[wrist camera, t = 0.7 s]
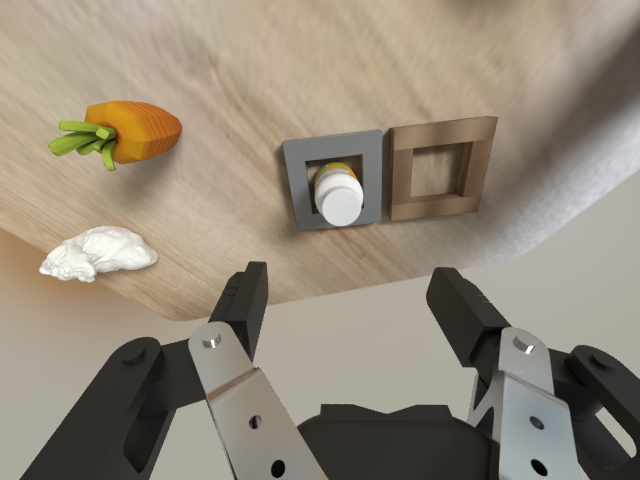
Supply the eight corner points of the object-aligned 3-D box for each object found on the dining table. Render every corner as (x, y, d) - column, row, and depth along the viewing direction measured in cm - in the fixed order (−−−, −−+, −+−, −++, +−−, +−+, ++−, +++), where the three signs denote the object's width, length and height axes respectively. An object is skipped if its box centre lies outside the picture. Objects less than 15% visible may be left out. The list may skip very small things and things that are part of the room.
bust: (173, 235, 39) (122, 219, 28) (164, 283, 38) (108, 286, 27) (92, 228, 38) (7, 208, 27) (81, 277, 37) (-12, 277, 26)
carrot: (199, 106, 28) (100, 109, 15) (200, 150, 31) (114, 186, 18) (153, 95, 28) (10, 90, 15) (158, 141, 30) (38, 172, 17)
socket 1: (378, 129, 30) (382, 131, 28) (377, 216, 36) (381, 222, 34) (284, 140, 30) (282, 143, 29) (298, 224, 36) (297, 231, 34)
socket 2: (487, 116, 29) (498, 116, 28) (469, 206, 35) (477, 211, 33) (390, 127, 30) (394, 129, 28) (387, 215, 35) (391, 221, 34)
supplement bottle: (353, 200, 34) (366, 232, 26) (315, 201, 34) (315, 233, 26) (355, 160, 32) (370, 181, 23) (314, 161, 32) (313, 182, 23)
